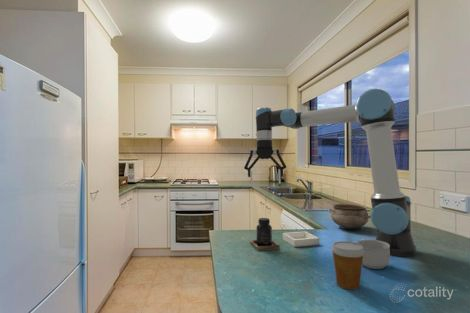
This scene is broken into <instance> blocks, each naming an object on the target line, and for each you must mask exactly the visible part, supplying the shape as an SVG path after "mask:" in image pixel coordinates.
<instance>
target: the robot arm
mask: <svg viewBox="0 0 470 313" xmlns="http://www.w3.org/2000/svg"><path fill="white" fill-rule="evenodd" d="M395 107H396V106H395V102H394V100H393V99H392V97H391V95H390V94H389V93H388V92H387V91H385V90H384V89H380V88H370V89H368V90H366V91H364V92H363V93H361V94H360V95H359V97H358V98H357V100H356V104H351V105H343V106H335V107H330V108H329V107H328V108H321V109H315V110H314V109H313V110H307V111H298V112H296V111H295V109H294V108H283V109H278V110H272V108H271V107H267V106H265V107H258V108H257V109H256V112H255V120H256V121H255V126H256V135H255V136H256V150H252V149H250V151H249V152H250V153H249V156H248V158H247V161H246V163H245V165H244V167H243V169H244V170H247V176H248V178H250V185H253V170H251V169H252V168H253V167H254V166H255V165H256V164H257V162H258V161H259V160H260V159H261V160H268V159H270V160H271V161H272V162H273V163H274V164H275V165H276V166H277V168H278V174H277V175H278V184H279V185H280V184H281V182H282V181H281V177H283V176H284V175H283V174H284V173H283V172H284V171H283V170H284V169H287V165H286V164H285V162H284V160H283V158H282V155H281V154H280V149H273V140H272V139H273V128H275V127H286V128H290V129H294V130H295V129H297V130H298V129H301V128H305V127H306V128H308V127H315V126H327V125H334V124H335V125H336V124H348V123H355V122H356V123H359V124H360V127H361V128H362V129H363V131H365V133H366V140H367V147H368V154H369V163H370V170H371V178H372V185H373V191H374V192H373V194H371V196H370V204H371V213H370V216H371V218H370V220H371V223H372V225H373V226H374V227H375V229H377V230H378V231H377V234H376V237H375V240H378V241H383V242H386V243H388V244H389V245H390V256H397V257H412V256H416V254H417V247H416V245H415V242H414V238H413V236H412V231H411V229H412V225H411V223H412V222H411V221H412V220H411V219H412V218H411V217H412V216H411V215H412V214H411V211H412V210H411V205H412V201H411V197H410V196H408V195H405V193H403V192H401V189H400V182H399V175H398V170H397V167H398V166H397V161H396V155H395V154H396V153H395V146H394V140H393V133H392V126H394V124H395V123H396V120H395ZM273 153H274V154H275V155H276V157H277V158H278V160H279V161H280V163H281V165H280V163H279V162H278V161H277V160H276V159H275V158H274V156H273ZM255 154H256V155H257V157H255V159H254V161H252V163H251V160H252V158H253V156H254V155H255ZM250 163H251V164H250Z"/></svg>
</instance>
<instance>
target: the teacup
mask: <svg viewBox="0 0 470 313" xmlns="http://www.w3.org/2000/svg"><path fill="white" fill-rule="evenodd" d="M356 243H358V244H360V245H362V246H363V249H364V251H365V253H364V255H363V260H362V265H363V266H365V268H369V269H374V270H380V269H383V268H385V267H386V266H388V265H389V264H390V261H391V255H390V245H389V244H388V243H386V242H383V241H378V240H376V239H366V238H361V239H360V240H357V241H356Z"/></svg>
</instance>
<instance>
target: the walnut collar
mask: <svg viewBox="0 0 470 313" xmlns="http://www.w3.org/2000/svg"><path fill="white" fill-rule="evenodd" d="M249 244H250V246H251V247H253V249H255V251H257V252H258V251H259V252H260V251H269V250H279V249H280V248H281V247H280V246H281V245H280V244H279V243H278V242H276V241H274V240H273V239H272V245H269V246H257V239H252V240H249Z"/></svg>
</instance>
